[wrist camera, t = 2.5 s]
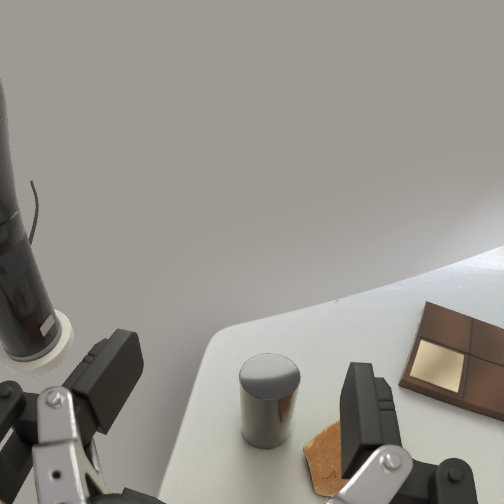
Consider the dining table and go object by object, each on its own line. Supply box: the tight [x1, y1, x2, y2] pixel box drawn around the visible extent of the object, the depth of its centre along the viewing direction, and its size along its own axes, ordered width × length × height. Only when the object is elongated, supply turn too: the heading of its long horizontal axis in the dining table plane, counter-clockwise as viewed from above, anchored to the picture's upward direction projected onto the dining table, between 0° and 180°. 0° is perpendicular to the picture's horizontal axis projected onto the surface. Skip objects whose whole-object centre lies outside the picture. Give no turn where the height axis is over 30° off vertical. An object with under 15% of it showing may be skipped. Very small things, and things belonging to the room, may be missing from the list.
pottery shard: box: [303, 421, 350, 496], centre depth 25 cm, size 10×9×2 cm
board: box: [399, 301, 504, 421], centre depth 33 cm, size 16×16×1 cm
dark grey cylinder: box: [239, 353, 300, 449], centre depth 26 cm, size 5×5×9 cm
